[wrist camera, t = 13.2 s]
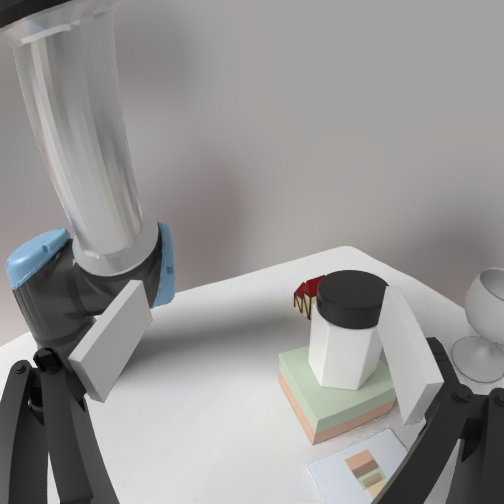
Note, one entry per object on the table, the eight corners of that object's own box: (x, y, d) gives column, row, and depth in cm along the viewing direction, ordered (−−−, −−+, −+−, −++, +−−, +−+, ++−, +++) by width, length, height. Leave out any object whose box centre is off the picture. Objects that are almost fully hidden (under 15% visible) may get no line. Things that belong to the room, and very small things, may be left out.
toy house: (316, 324, 54) (318, 287, 50) (288, 312, 58) (288, 276, 55) (332, 310, 57) (335, 274, 54) (305, 299, 62) (306, 264, 58)
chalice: (502, 399, 28) (545, 321, 22) (435, 369, 38) (465, 289, 32) (513, 350, 37) (543, 280, 30) (457, 326, 46) (479, 257, 40)
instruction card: (305, 465, 28) (305, 464, 27) (388, 428, 31) (389, 427, 30) (336, 524, 20) (337, 523, 20) (424, 475, 23) (425, 474, 22)
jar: (336, 337, 40) (345, 261, 36) (384, 361, 35) (404, 282, 30) (294, 370, 35) (298, 290, 30) (346, 403, 30) (366, 321, 25)
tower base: (278, 382, 41) (279, 353, 38) (348, 359, 44) (354, 330, 41) (312, 445, 30) (317, 420, 28) (390, 410, 33) (402, 382, 31)
